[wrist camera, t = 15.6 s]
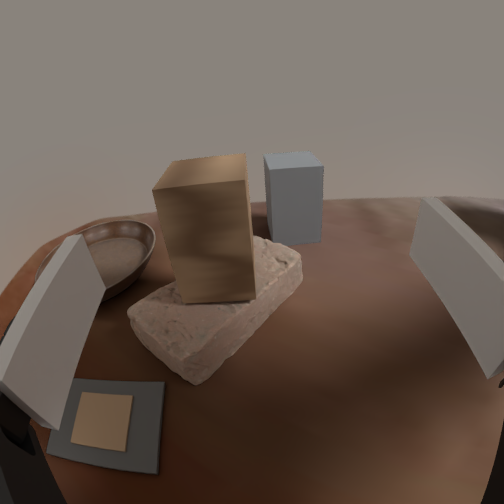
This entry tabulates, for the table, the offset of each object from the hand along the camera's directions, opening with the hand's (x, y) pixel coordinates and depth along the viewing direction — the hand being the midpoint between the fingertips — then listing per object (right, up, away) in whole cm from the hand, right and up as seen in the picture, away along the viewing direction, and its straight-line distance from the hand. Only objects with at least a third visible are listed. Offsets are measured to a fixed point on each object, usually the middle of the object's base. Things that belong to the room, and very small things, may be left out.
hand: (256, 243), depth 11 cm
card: (-12, -14, +8) cm, 20 cm away
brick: (-3, -6, +18) cm, 20 cm away
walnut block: (-3, -3, +16) cm, 16 cm away
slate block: (+5, +2, +29) cm, 29 cm away
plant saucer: (-20, -3, +25) cm, 32 cm away
